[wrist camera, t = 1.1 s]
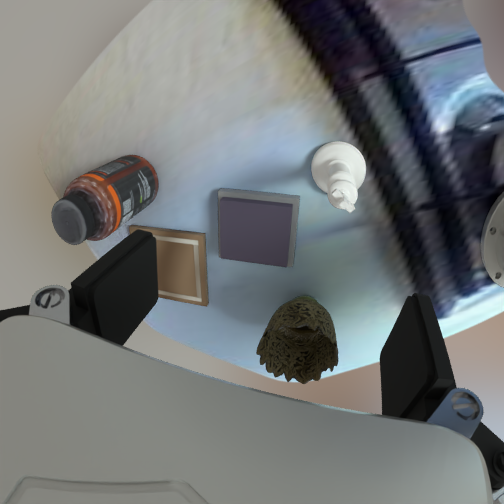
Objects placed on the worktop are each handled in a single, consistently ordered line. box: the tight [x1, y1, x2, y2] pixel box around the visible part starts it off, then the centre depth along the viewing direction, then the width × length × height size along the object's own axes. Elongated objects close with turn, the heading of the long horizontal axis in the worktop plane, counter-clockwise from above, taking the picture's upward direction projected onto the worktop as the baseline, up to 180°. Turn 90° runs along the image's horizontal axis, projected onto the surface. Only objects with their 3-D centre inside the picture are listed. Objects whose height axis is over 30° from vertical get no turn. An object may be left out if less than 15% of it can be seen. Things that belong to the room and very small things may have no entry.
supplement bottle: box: [52, 155, 158, 245], centre depth 27 cm, size 6×6×11 cm
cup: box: [256, 295, 338, 384], centre depth 31 cm, size 8×7×8 cm
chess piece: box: [311, 141, 366, 213], centre depth 23 cm, size 5×5×10 cm
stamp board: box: [129, 225, 209, 306], centre depth 36 cm, size 9×9×1 cm
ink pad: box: [218, 188, 300, 267], centre depth 31 cm, size 8×7×2 cm
